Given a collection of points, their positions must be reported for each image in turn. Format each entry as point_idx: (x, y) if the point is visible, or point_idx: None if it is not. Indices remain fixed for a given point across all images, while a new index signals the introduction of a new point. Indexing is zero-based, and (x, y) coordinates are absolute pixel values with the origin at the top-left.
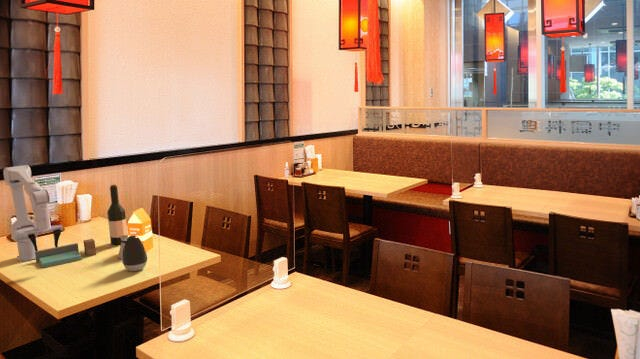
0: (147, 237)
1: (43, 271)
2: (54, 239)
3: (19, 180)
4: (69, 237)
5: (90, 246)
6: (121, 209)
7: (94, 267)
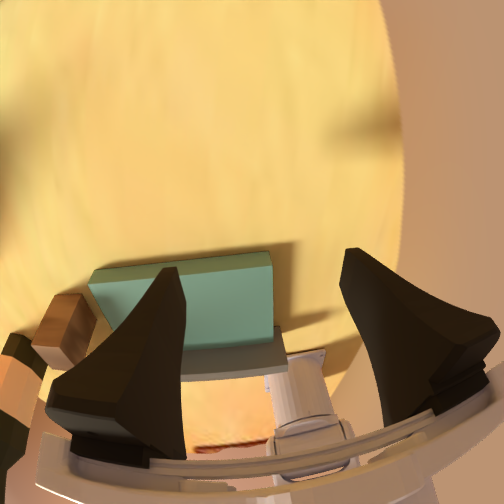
0: None
1: (275, 194)
2: (177, 362)
3: None
4: None
5: (52, 326)
6: None
7: (29, 115)
